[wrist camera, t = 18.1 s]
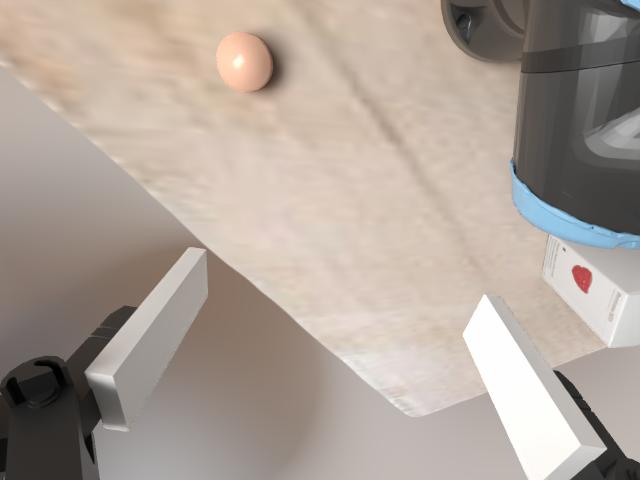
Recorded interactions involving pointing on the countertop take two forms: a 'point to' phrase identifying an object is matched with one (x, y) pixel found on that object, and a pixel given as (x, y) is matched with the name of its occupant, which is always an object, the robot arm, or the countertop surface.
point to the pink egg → (244, 62)
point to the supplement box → (598, 287)
